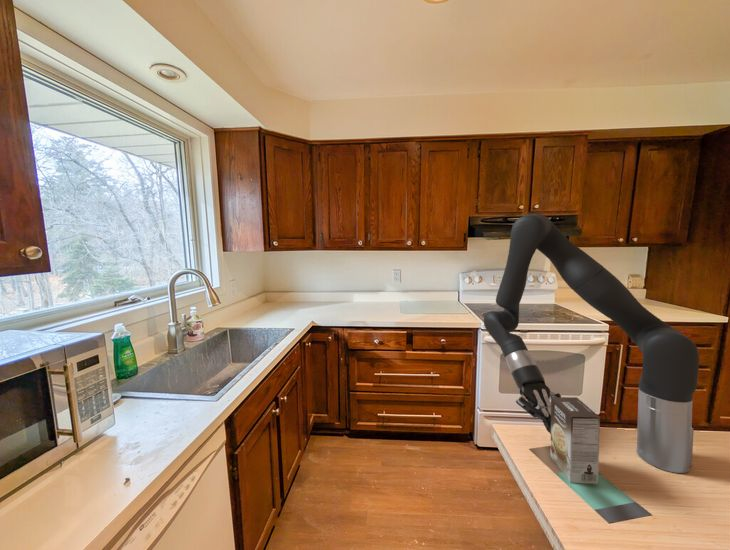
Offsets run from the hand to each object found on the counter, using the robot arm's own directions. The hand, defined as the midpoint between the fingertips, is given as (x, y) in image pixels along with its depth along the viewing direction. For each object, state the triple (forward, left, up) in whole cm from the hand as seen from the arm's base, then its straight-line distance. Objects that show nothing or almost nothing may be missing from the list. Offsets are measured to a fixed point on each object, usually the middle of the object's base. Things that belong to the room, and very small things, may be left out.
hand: (555, 433), depth 75 cm
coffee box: (0, +5, -6) cm, 8 cm away
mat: (0, +8, -6) cm, 10 cm away
